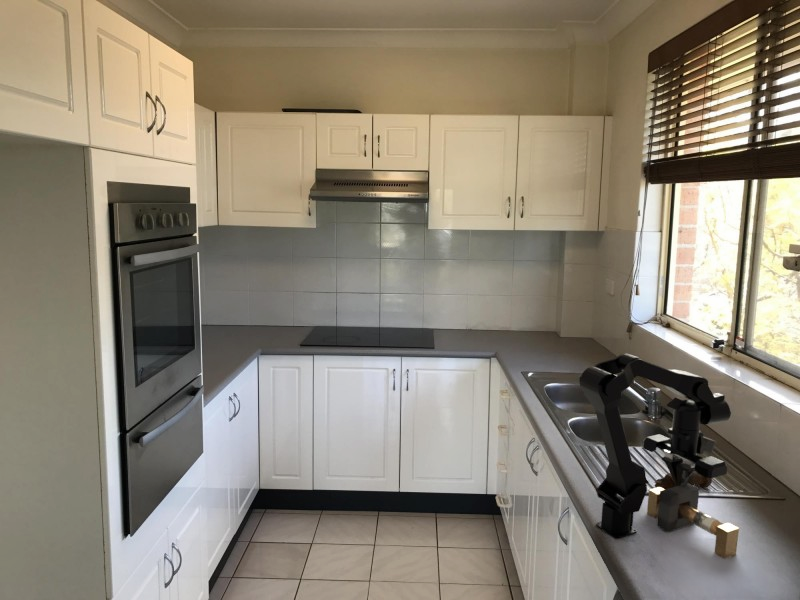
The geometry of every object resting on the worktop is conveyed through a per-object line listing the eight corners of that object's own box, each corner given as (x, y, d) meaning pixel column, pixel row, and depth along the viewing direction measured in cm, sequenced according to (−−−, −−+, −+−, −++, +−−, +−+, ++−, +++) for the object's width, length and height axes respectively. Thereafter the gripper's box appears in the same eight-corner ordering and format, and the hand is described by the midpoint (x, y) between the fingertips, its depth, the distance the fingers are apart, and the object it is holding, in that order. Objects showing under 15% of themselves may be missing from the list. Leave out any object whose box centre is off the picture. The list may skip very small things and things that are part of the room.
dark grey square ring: (695, 523, 140) (699, 488, 139) (667, 532, 136) (671, 496, 135) (684, 517, 143) (688, 483, 141) (656, 525, 139) (660, 490, 137)
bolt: (655, 498, 157) (701, 488, 161) (668, 497, 152) (715, 486, 157) (648, 475, 158) (694, 466, 163) (660, 473, 154) (707, 464, 159)
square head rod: (735, 554, 128) (739, 527, 127) (724, 558, 127) (727, 531, 126) (657, 510, 146) (659, 486, 145) (646, 513, 145) (649, 489, 144)
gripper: (746, 434, 135) (739, 499, 138) (675, 408, 152) (670, 467, 154) (713, 442, 130) (706, 510, 133) (644, 415, 147) (638, 475, 149)
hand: (679, 489), depth 142 cm, fingers closed
